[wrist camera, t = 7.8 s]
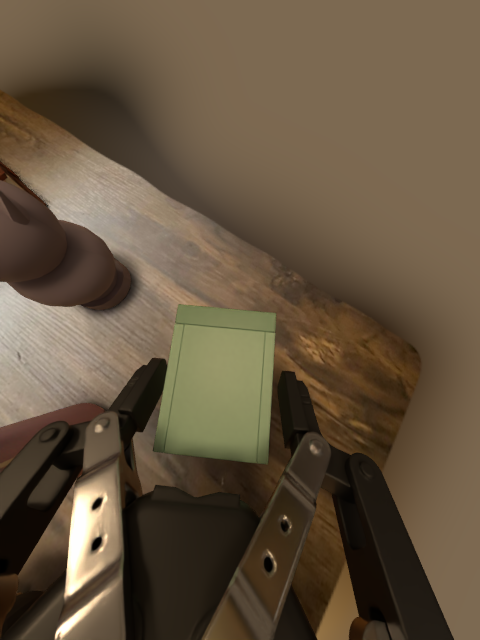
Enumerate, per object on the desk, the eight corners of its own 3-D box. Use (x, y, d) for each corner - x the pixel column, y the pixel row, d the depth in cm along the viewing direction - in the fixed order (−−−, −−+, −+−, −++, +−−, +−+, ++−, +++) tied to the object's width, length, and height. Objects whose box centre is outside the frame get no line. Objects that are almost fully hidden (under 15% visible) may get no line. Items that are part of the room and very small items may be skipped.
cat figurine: (56, 309, 20) (-216, 243, 8) (81, 249, 21) (-116, 118, 10) (126, 323, 19) (-50, 275, 8) (147, 261, 21) (27, 140, 9)
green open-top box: (254, 409, 18) (268, 465, 9) (196, 403, 18) (152, 452, 9) (260, 332, 19) (276, 312, 10) (206, 327, 19) (177, 303, 10)
